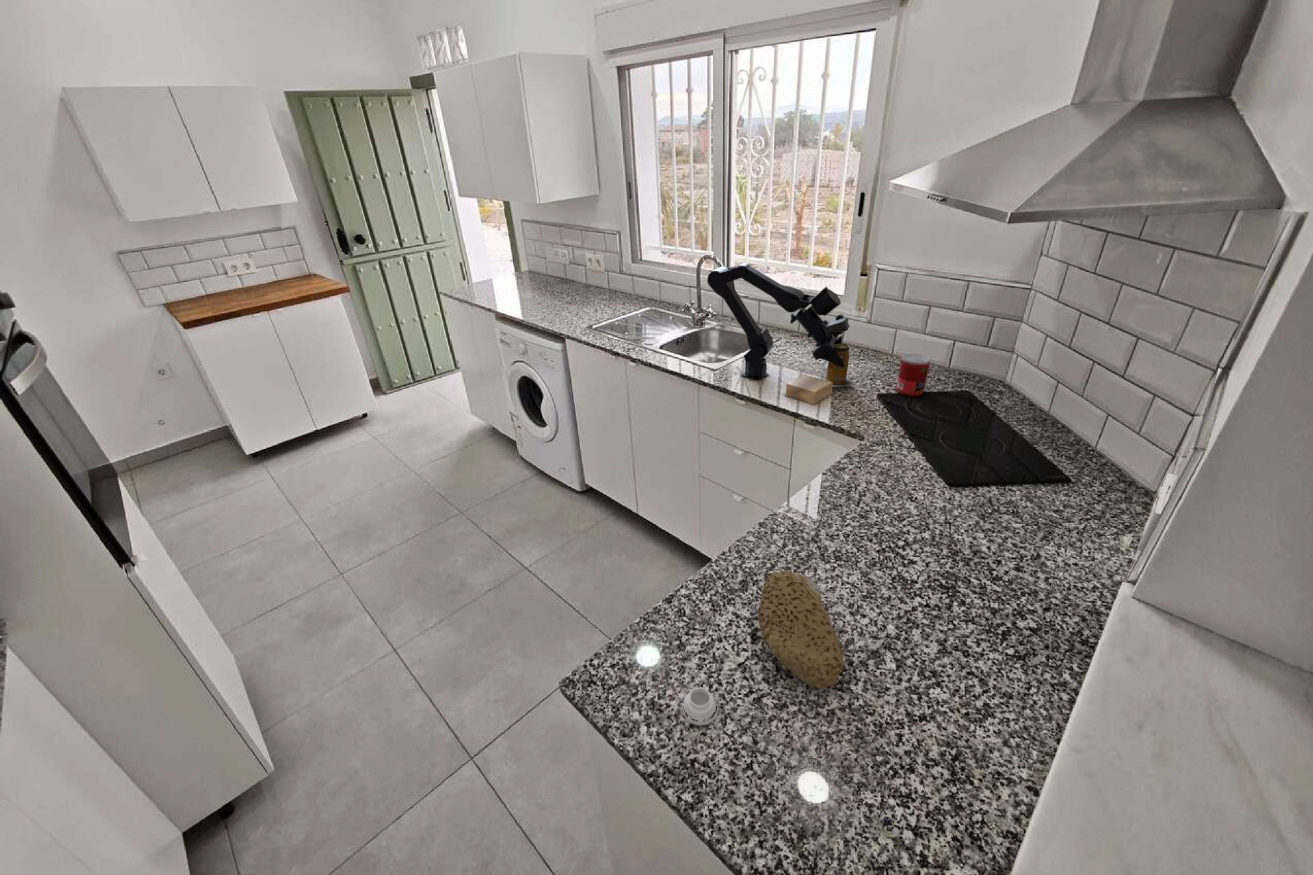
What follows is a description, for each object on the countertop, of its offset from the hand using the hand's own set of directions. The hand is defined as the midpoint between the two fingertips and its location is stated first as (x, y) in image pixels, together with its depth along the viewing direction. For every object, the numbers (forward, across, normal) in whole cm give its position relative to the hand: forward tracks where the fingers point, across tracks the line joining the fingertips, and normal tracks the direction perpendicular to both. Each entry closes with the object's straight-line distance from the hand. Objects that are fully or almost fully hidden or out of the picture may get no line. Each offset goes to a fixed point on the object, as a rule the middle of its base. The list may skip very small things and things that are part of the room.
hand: (845, 363), depth 167 cm
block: (0, -9, +12) cm, 15 cm away
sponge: (+14, -104, -2) cm, 105 cm away
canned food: (+20, +5, -8) cm, 22 cm away
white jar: (+8, -122, +4) cm, 122 cm away
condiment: (+4, 0, +6) cm, 7 cm away
